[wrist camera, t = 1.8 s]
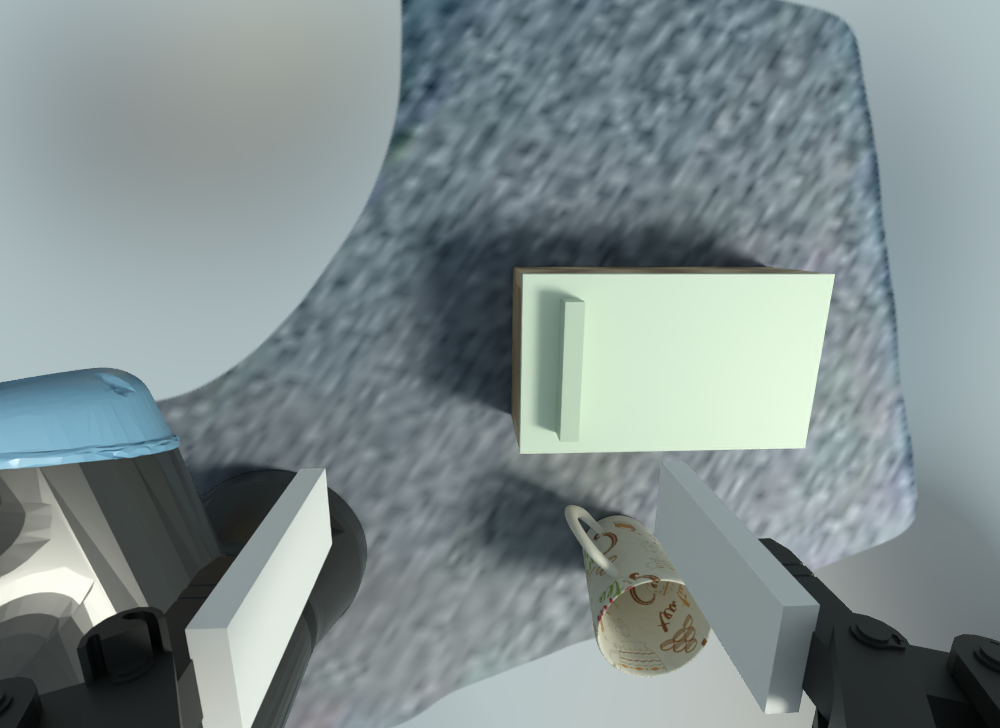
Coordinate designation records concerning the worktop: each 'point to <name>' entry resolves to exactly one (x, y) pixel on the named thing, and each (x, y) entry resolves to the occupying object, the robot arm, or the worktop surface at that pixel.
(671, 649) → the mug
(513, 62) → the worktop surface
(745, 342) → the lid
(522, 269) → the lid box
